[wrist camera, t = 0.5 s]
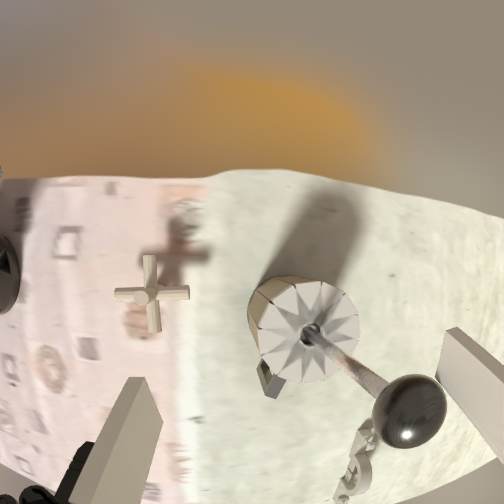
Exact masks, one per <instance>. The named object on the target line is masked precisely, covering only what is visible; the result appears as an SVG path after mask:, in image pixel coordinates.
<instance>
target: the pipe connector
mask: <svg viewBox="0 0 504 504" xmlns="http://www.w3.org/2000/svg"><path fill="white" fill-rule="evenodd" d="M143 271H144V287H131V288H116V289H115V291H114V297H115V300H116V301H135V303H136V304H137V305H138V306H145V305H146V311H147V321H148V330H149V332H150V333H158V332H161V331H162V328H161V318H160V307H159V301H161V300H189V299H190V288H189V285H185V286H163V285H162V284H158V281H157V265H156V255H143Z"/></svg>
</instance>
